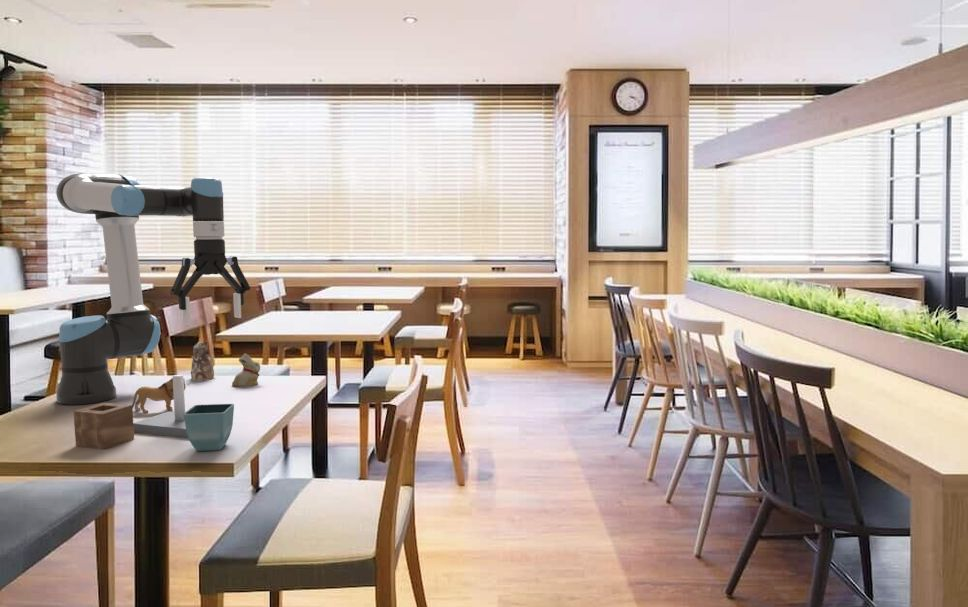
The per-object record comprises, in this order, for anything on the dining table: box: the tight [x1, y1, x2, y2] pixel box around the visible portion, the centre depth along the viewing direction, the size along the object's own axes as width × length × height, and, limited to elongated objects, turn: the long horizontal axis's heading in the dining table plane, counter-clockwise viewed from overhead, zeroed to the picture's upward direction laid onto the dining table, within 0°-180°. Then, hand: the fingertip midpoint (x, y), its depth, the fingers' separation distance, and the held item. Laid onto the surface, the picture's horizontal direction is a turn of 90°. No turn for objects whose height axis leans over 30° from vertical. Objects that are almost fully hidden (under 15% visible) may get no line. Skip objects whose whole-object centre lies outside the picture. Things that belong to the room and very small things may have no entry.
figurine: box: [190, 340, 215, 381], centre depth 239 cm, size 7×7×12 cm
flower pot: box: [183, 403, 235, 452], centre depth 163 cm, size 9×9×9 cm
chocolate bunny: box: [231, 353, 261, 388], centre depth 228 cm, size 6×8×10 cm
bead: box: [73, 402, 135, 450], centre depth 168 cm, size 8×8×8 cm
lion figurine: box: [131, 377, 187, 414], centre depth 197 cm, size 15×5×9 cm, turn 110°
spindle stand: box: [133, 374, 188, 438], centre depth 179 cm, size 18×12×13 cm, turn 71°
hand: (212, 320), depth 192 cm, fingers open, 13 cm apart
